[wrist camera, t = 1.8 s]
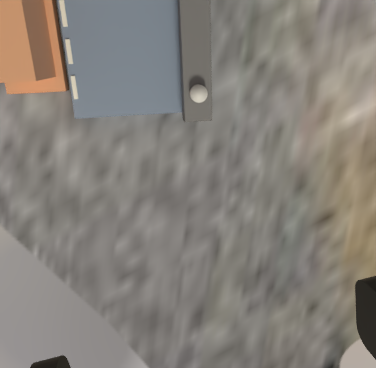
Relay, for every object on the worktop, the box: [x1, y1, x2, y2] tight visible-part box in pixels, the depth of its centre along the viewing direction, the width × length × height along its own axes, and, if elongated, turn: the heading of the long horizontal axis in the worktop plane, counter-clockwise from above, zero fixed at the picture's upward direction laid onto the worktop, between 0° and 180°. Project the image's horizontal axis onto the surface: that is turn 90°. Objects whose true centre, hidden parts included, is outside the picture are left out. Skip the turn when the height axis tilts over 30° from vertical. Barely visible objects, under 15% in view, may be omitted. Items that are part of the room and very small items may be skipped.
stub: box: [0, 0, 69, 94], centre depth 21 cm, size 10×4×6 cm, turn 2°
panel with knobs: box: [57, 0, 212, 122], centre depth 23 cm, size 15×10×3 cm, turn 2°
